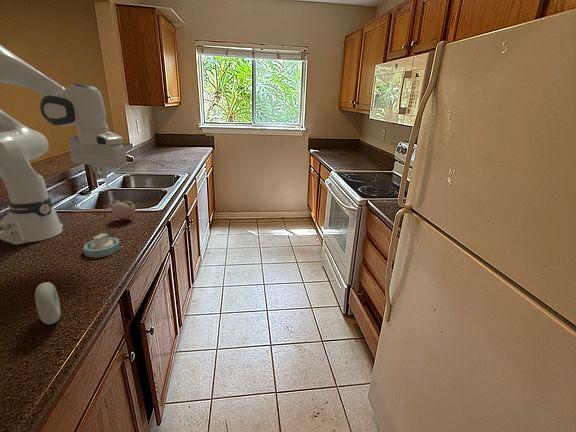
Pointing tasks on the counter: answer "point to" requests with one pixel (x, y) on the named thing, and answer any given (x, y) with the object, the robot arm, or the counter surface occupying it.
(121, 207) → the decorative fruit
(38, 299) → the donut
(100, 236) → the cap
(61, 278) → the counter surface
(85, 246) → the studded octagonal holder
